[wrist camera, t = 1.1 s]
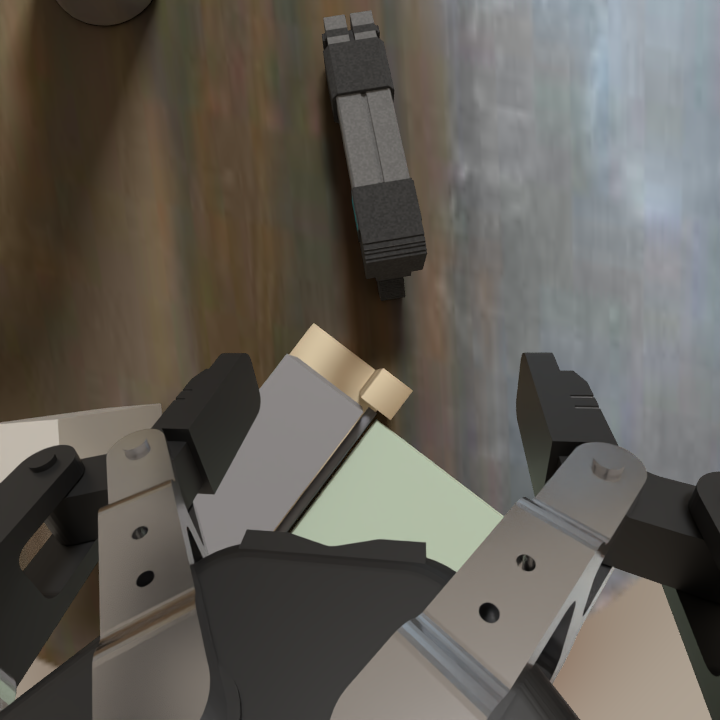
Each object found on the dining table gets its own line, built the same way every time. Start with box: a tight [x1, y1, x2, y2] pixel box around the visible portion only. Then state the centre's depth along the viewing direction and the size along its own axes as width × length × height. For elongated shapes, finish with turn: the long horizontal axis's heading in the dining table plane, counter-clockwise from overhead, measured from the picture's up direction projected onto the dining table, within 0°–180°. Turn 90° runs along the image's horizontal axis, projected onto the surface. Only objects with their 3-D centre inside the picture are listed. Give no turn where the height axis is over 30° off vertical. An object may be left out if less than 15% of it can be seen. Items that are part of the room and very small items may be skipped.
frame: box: [274, 323, 413, 531], centre depth 29 cm, size 8×19×11 cm, turn 143°
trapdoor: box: [193, 354, 504, 572], centre depth 24 cm, size 17×15×4 cm
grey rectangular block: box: [0, 404, 162, 483], centre depth 28 cm, size 4×4×12 cm
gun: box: [322, 11, 427, 301], centre depth 34 cm, size 4×20×10 cm, turn 10°
